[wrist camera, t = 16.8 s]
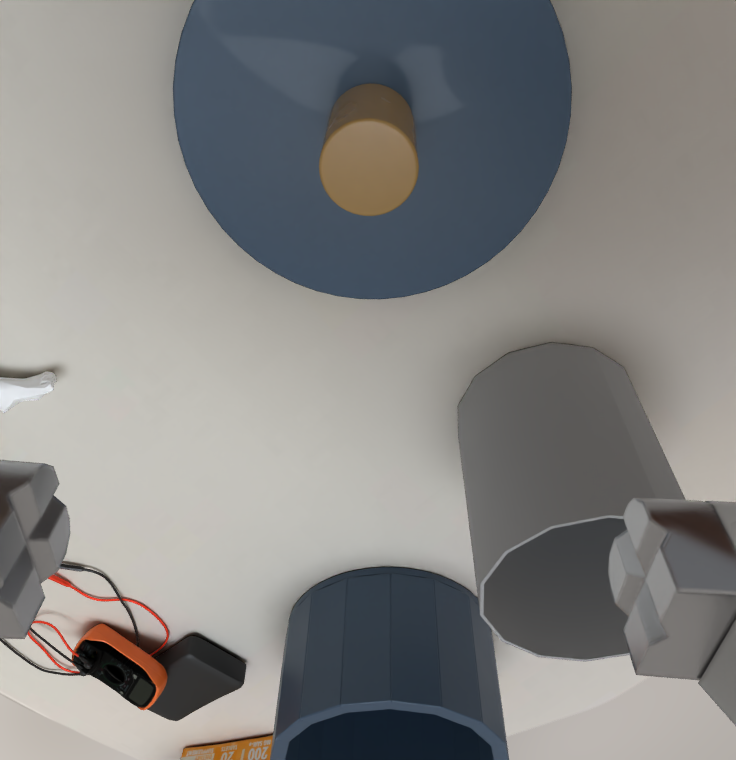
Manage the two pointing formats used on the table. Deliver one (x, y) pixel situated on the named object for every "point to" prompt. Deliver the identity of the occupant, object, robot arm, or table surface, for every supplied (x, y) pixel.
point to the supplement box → (232, 750)
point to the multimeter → (149, 665)
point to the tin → (388, 672)
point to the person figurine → (24, 389)
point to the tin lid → (372, 133)
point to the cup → (554, 494)
